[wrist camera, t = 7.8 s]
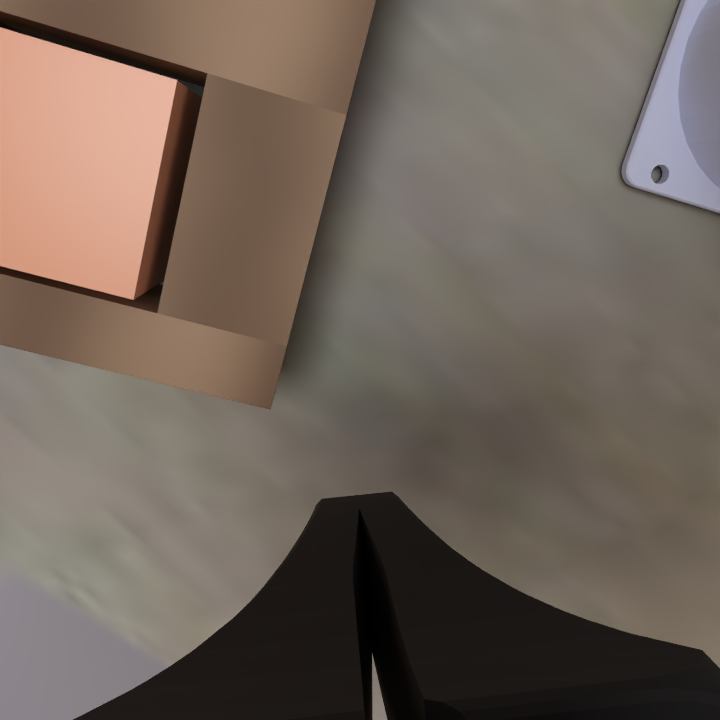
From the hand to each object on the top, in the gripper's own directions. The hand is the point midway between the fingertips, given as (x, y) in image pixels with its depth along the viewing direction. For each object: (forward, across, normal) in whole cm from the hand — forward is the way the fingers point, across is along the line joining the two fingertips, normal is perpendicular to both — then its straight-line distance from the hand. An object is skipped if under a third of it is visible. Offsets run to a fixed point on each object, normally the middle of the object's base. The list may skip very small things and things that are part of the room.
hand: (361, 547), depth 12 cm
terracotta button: (+8, +6, -7) cm, 12 cm away
